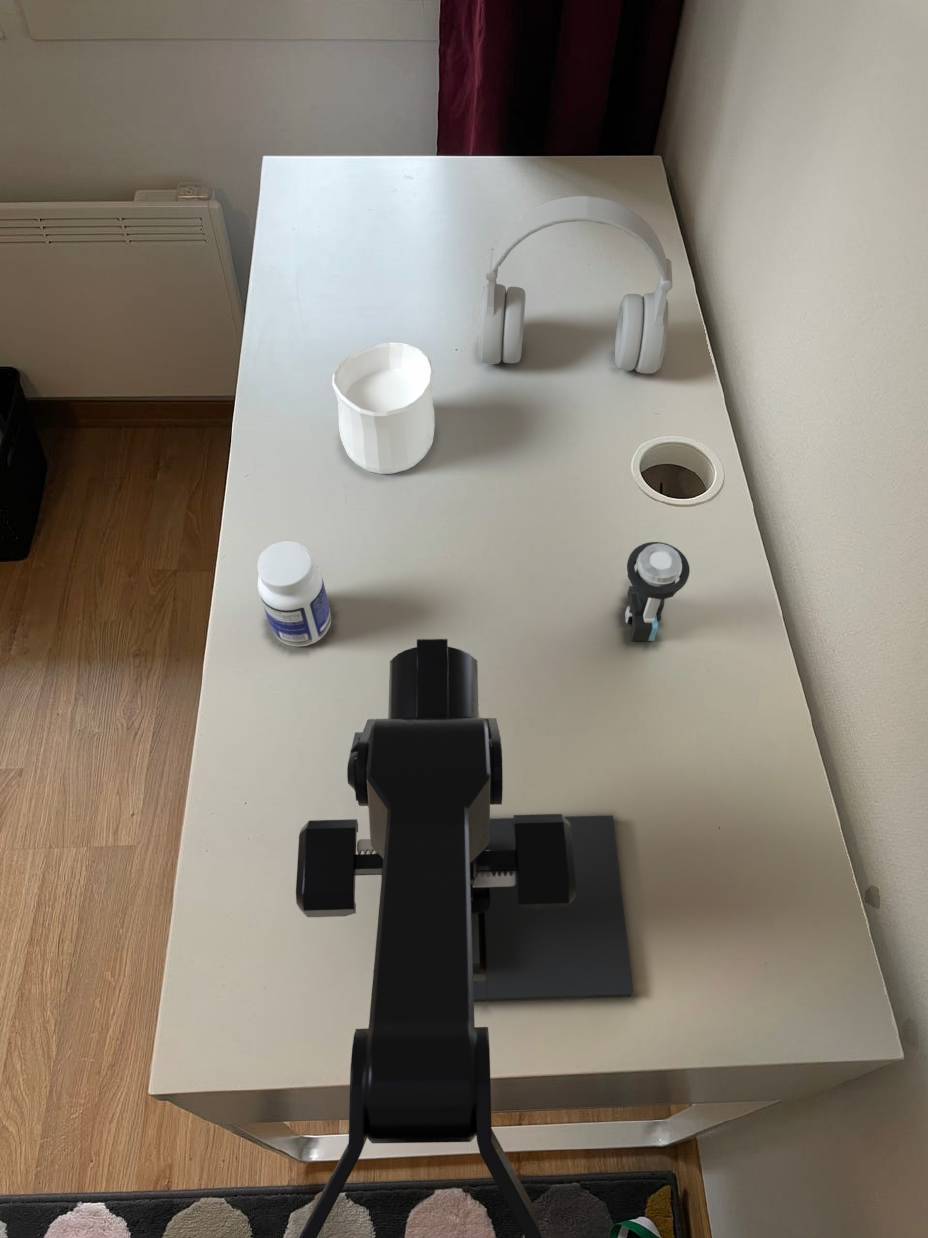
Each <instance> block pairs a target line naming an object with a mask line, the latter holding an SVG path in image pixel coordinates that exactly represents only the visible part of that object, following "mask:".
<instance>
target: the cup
mask: <svg viewBox="0 0 928 1238" xmlns="http://www.w3.org/2000/svg"><path fill="white" fill-rule="evenodd" d="M433 379H434V369H433V365H432V361H431V359H430V358H429V357H428V356H427V355H426V354H425V353H424V352H423V351H422V350H420V348H418V347H415V346H412V345H410V344H407V343H406V342H405V343H404V342H393V341H389V342H384V343H378V344H373V345H372V346H369V347H366V348H363V349H361V350H359V351H357V352H355V353H353V354H352V355H349V356H348V357H346V358H345V359H344V360H342V361H341V362H340V363H339V364H337V367H336V368H335V370H334V372H333V374H332V380H331V381H332V388H333V390H334V393H335V396H336V399H337V406H338V430H339V434H340V435H339V436H340V441H341V443H342V445H343V447H344V450H345V452H346V454H347V456H348V457H349V458H350V459H351V460H352V461H353V462H354V463H355V464H356V465H357V466H359V467H361V468H362V469H364V470H365V471H368V472H370V473H374V474H378V475H391V474H393V475H394V474H396V473H400V472H404V471H408V470H409V469H411V468H413V467H415V466H416V465H417V464H418V463H419V462H420V461H422V460H423V459H424V458H425V457H426V455H427V454H428V452H429V450H430V449H431V448H432V445H433V441H434V436H435V429H436V426H435V424H436V422H435V421H436V420H435V419H436V418H435V408H434V401H433Z"/></svg>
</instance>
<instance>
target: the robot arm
mask: <svg viewBox="0 0 928 1238" xmlns="http://www.w3.org/2000/svg"><path fill="white" fill-rule="evenodd" d="M448 641H449V640H448V638H417V639H416V646H415V647H411V648H407V649H405V650H402V651H401V652H399V653H397V654H396V655H395V656H394V657H392V659H391V660H389V673H388V675H389V677H388V680H389V681H388V709H387V710H388V711H387V712H388V714H387V718H375V719H374V718H373V719H371V718H370V719H367V720H366V722H365V725H364V728H363V730H362V732H361V731H359V732H358V731H357V732H354V737H353V739H352V743H351V748H350V751H349V752H350V753H349V756H348V761H347V768H346V770H347V773H346V774H347V775H346V777H347V778H346V779H347V784H348V786H350V787H351V788H352V789H353V791H354V794H355V801H356V802H357V804H358V806H359V807H368V808H367V809H368V822H369V823H368V824H369V838H370V839H368V838H367V839H358V841H357V837H358V836H357V834H358V833H359V822H358V819H357V818H354V819H353V818H352V819H349V818H348V819H316V820H308V821H307V822H306V823H305V824H304V825H303V826H302V828H301V829H300V831H299V835H298V848H297V864H296V865H297V867H296V868H297V869H296V881H295V900H296V901H295V902H296V905H297V907H298V909H299V910H300V911H301V912H302V913H303V914H304V915H305V917H306V918H331V917H332V918H333V917H337V918H338V917H347V916H351V915H354V914H356V913H357V903H356V876H357V877H358V876H381V882H380V894H379V905H378V917H377V928H376V938H375V939H376V940H375V952H374V961H373V962H374V964H373V973H372V974H373V975H372V983H371V984H372V987H371V996H370V1007H369V1020H368V1028H355V1030H354V1033H353V1038H352V1039H353V1040H352V1045H351V1046H352V1047H351V1057H350V1059H351V1060H350V1073H349V1075H350V1077H349V1102H348V1103H349V1107H348V1110H349V1111H348V1117H349V1118H348V1142H347V1145H346V1147H345V1149H344V1151H343V1153H342V1154H341V1156H340V1158H339V1160H338V1162H337V1164H336V1165H335V1167H334V1169H333V1171H332V1173H331V1175H330V1176H329V1178H328V1180H327V1183H326V1185H325V1186H324V1188H323V1190H322V1192H321V1194H320V1195H319V1198H318V1199H317V1201H316V1203H315V1204H314V1206H313V1208H312V1211H311V1212H310V1215H309V1217H308V1219H307V1221H306V1223H305V1225H304V1227H303V1229H302V1231H301V1233H300V1234H299V1237H298V1238H324V1226H325V1223H326V1221H327V1219H328V1217H329V1216H330V1213H331V1212H332V1209H333V1208H334V1206H335V1204H336V1202H337V1200H338V1198H339V1196H340V1194H341V1192H342V1191H343V1189H344V1187H345V1185H346V1183H347V1181H348V1180H349V1178H350V1175H351V1174H352V1172H353V1170H354V1168H355V1166H356V1164H357V1163H358V1161H359V1159H360V1157H361V1154H362V1153H363V1149H364V1147H365V1144H366V1142H367V1139H368V1141H369V1142H370V1143H371V1144H423V1143H424V1144H428V1143H429V1144H431V1143H433V1144H434V1143H471V1142H473V1140H474V1139H475V1138H476V1143H477V1147H478V1150H479V1151H478V1152H479V1154H480V1157H481V1158H482V1160H483V1162H484V1164H485V1165H486V1167H487V1169H488V1171H489V1173H490V1175H491V1177H492V1179H493V1180H494V1181H493V1182H494V1183H495V1184H496V1186H497V1188H498V1190H499V1192H500V1194H501V1195H502V1197H503V1200H504V1201H505V1203H506V1205H507V1207H508V1209H509V1211H510V1213H511V1214H512V1216H513V1219H514V1220H515V1222H516V1223H517V1225H518V1228H519V1230H520V1231H521V1233H522V1236H523V1237H522V1238H543V1235H542V1233H541V1229H540V1224H539V1222H538V1218H537V1214H536V1210H535V1207H534V1204H533V1203H532V1200H531V1199H530V1197H529V1194H528V1193H527V1191H526V1190H525V1188H524V1186H523V1184H522V1182H521V1180H520V1178H519V1177H518V1174H517V1173H516V1171H515V1169H514V1167H513V1165H512V1164H511V1162H510V1159H509V1158H508V1156H507V1154H506V1152H505V1150H504V1149H503V1147H502V1145H501V1143H500V1141H499V1140H498V1138H497V1136H496V1134H495V1132H494V1130H493V1127H492V1088H491V1083H492V1082H491V1052H490V1050H491V1049H490V1032H489V1026H475V1002H474V988H473V981H474V974H473V954H472V919H471V913H478V914H483V913H484V912H486V911H487V910H488V909H489V907H490V889H489V888H505V887H515V886H516V883H517V884H518V900H517V901H518V909H522V910H526V911H547V910H566V909H567V908H568V907H569V906H570V905H571V904H572V903H573V901H574V899H575V896H576V877H575V866H574V855H573V844H572V833H571V826H570V823H569V821H568V820H567V819H566V818H565V817H566V816H564V815H563V814H562V813H542V814H541V813H540V814H513V816H512V818H513V828H514V833H515V850H499V851H490V850H488V845H489V842H490V819H491V805H494V806H495V805H502V803H503V791H504V790H503V784H504V783H503V782H504V781H503V777H504V775H503V750H502V749H503V748H502V746H503V745H502V738H501V734H500V730H499V725H498V720H497V717H486V718H485V717H479V716H480V715H479V714H480V713H479V677H478V674H479V673H478V660H477V659H476V658H475V657H474V656H473V655H471V654H470V653H469V652H466V651H464V650H462V649H460V648H457V647H456V648H455V647H452V646H449V642H448ZM362 852H363V853H362ZM373 852H374V853H373ZM500 871H507V874H506V876H505V875H504V873H503V872H501V875H500V876H499V875H498V872H500ZM509 871H513V873H512V875H510V873H509ZM515 871H517V878H516V873H515ZM492 872H496V873H495V876H493V874H492Z"/></svg>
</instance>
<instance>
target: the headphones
mask: <svg viewBox="0 0 928 1238" xmlns="http://www.w3.org/2000/svg"><path fill="white" fill-rule="evenodd" d="M575 222H590V223H596V224H601V225H605V226H610V227H614V228H616V229H618V230H621V232H624V233H626V234H627V235H629V236H630V237H632V238H634V239H635V240H637V241H638V242H639V244H640V245H642V247H643V248H644V249H645V250H646V251H647V253H648V254H649V255H650V257H651V260H652V262H653V264H654V266H655V268H656V270H657V271H658V273H659V276H658V280H657V283H656V286H655V290H654V291H653V292H647V293H644V294H643V295H641V294H639V293H628V294H625V295H624V296H623V297H622V299H621V301H620V305H619V309H618V315H617V322H616V330H615V339H614V340H615V341H614V344H615V345H614V361H615V365H616V368H617V369H619V370H622V371H633V370H635V372H637V373H640V374H647V375H648V374H655V373H656V372H657V371H659V370H660V368H661V366H662V363H663V360H664V355H665V350H666V345H667V337H668V329H669V328H668V327H669V300H668V299H667V297H668V292H670V291H671V290H672V289H673V285H674V284H673V268H672V267H673V266H672V260H671V259H669V258H667V256H666V254H665V250H664V248H663V245H662V243H661V241H660V238H659V236H658V234H657V233H656V232H655V230H654V229H653V228H652V226H651V225H650V224H649V223H648V222H647V221H646V220H645V219H644V218H643V217H642V216H640V215H639V214H638V213H636V212H635V211H634V210H632V209H631V208H629V207H628V206H625V205H623V204H621V203H619V202H617V201H614V200H611V199H607V198H604V197H597V196H588V195H581V196H579V195H578V196H576V195H575V196H567V197H562V198H557V199H553V200H550V201H547V202H544V203H541V204H540V205H538V206H535V207H534V208H532V209H529V210H528V211H527V212H525V213H524V214H522V215H521V216H520V217H518V218H517V219H516V220H515V221H514V222H513V223H512V224H511V225H510V226H509V227H508V228H507V229H506V230H505V232H504V233H503V234H502V236H501V237H500V239H499V240H498V242H497V243H496V245H495V247H494V248H490V249H488V250H487V258H486V267H485V279H486V280H487V281H488V283H487V284H486V285H485V286H483V287H482V289H481V297H480V305H479V307H480V308H479V317H478V320H479V321H478V337H477V338H478V339H477V347H478V348H477V353H478V355H477V356H478V360H480V361H481V363H482V364H489V365H496V364H500V363H501V362H503V363H505V364H518V363H519V362H520V360H521V358H522V350H523V339H524V325H525V310H526V291H525V289H524V288H522V287H519V286H509V287H507V288H506V286H505V285H504V284H499V283H497V278H498V273H499V268H500V266H502V264H503V262H504V261H505V260H506V258H507V257H508V256H509V255H510V253H511V252H512V251H513V249H515V247H516V246H517V245H519V244H520V243H521V242H523V241H524V240H525V239H526V238H528V237H529V236H531V235H533V234H535V233H536V232H539V231H541V230H543V229H546V228H548V227H552V226H555V225H558V224H564V223H575Z"/></svg>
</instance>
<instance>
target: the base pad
mask: <svg viewBox="0 0 928 1238" xmlns="http://www.w3.org/2000/svg"><path fill="white" fill-rule="evenodd" d="M564 817H565V818H566V819H567V820H568V821H569V823H570V826H571V833H572V844H573V855H574V866H575V877H576V896H575V899H574V901H573V903H572V904H571V905H570V906H569V907H568V908H567V909H566V910H547V911H526V910H522V909H518V901H517V900H518V884H517V883H516V886H515V887H505V888H489V889H490V907H489V909H488V910H487V911H486V912H484V913H482V914H483V915H482V916H483V937H484V960H485V961H484V962H485V980H473V988H474V1003H484V1002H515V1001H546V1000H547V1001H548V1000H549V1001H551V1000H577V999H578V1000H579V999H610V998H615V999H616V998H631V997H632V996H633V995H634V989H633V982H632V981H633V980H632V971H631V961H630V953H629V945H628V936H627V926H626V917H625V909H624V901H623V892H622V883H621V876H620V866H619V857H618V850H617V849H618V848H617V840H616V839H617V838H616V832H615V822H614V815H610V814H609V815H576V816H564ZM488 850H490V851H499V850H515V833H514V828H513V817H506V818H504V817H503V818H490V842H489V845H488ZM501 872H503V873H504V875H505V876H506V874H507V871H500V872H498V875H499V876H500V875H501ZM495 873H496V872H492V874H493V876H495ZM509 873H510V875H512V873H513V871H509ZM515 873H516V878H517V871H515Z"/></svg>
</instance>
